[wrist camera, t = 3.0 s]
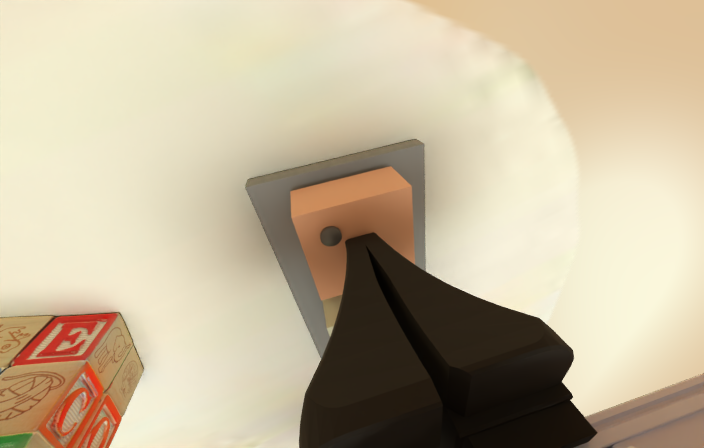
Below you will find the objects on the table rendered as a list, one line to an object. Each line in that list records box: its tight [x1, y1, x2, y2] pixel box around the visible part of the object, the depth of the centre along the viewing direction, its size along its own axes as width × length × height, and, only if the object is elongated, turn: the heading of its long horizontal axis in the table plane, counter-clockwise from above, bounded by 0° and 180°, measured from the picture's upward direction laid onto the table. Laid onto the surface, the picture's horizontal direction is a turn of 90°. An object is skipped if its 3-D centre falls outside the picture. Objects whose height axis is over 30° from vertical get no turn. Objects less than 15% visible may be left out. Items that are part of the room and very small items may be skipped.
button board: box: [245, 139, 425, 359], centre depth 17 cm, size 17×9×3 cm, turn 10°
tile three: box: [290, 166, 415, 301], centre depth 13 cm, size 5×5×3 cm
